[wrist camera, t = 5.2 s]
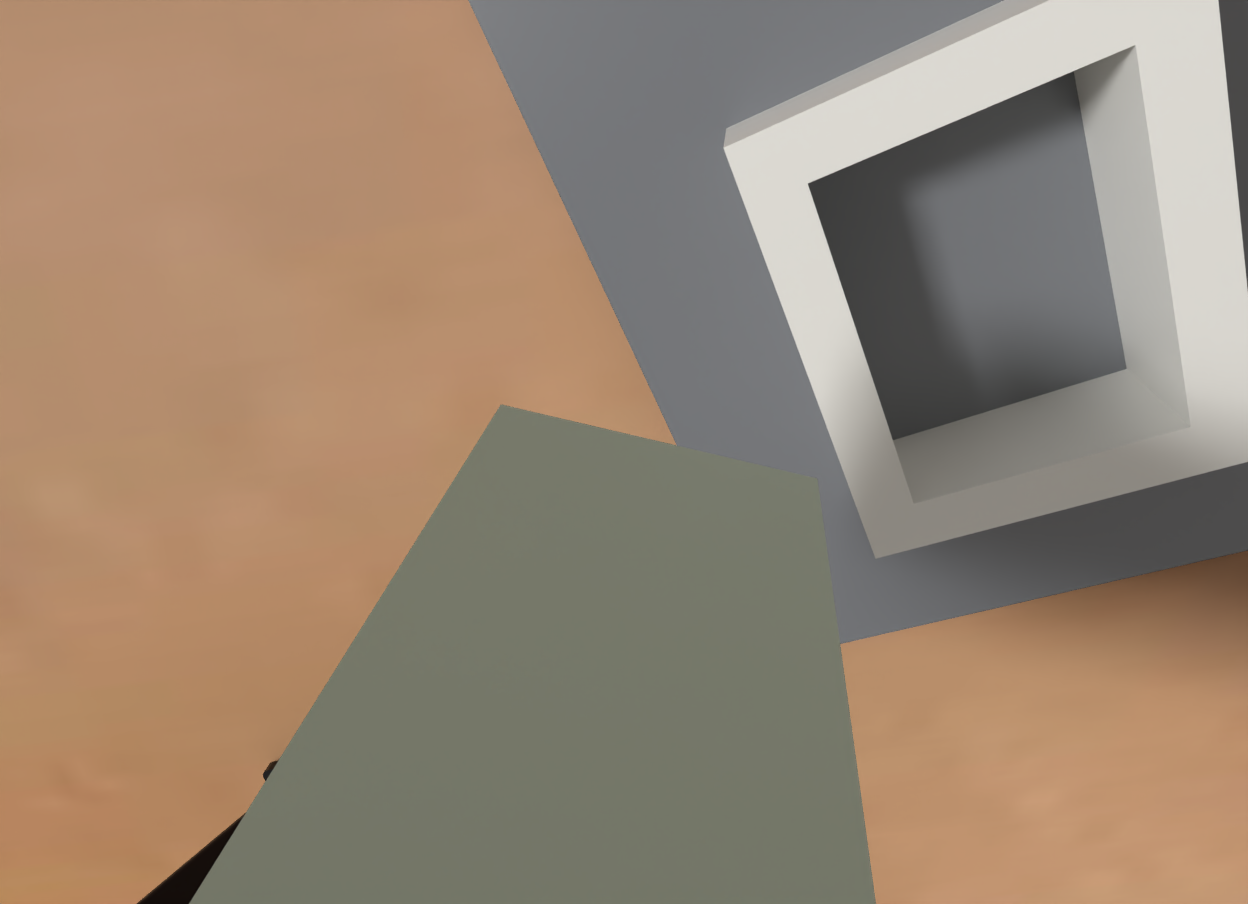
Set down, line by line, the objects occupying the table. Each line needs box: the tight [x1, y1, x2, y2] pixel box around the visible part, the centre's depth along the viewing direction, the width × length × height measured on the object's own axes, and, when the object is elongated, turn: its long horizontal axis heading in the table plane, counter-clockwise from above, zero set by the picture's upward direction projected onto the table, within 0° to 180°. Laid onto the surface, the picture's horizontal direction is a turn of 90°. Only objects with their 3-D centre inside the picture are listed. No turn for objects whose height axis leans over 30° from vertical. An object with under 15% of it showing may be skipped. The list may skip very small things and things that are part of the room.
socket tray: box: [469, 0, 1248, 644], centre depth 16 cm, size 20×16×4 cm
